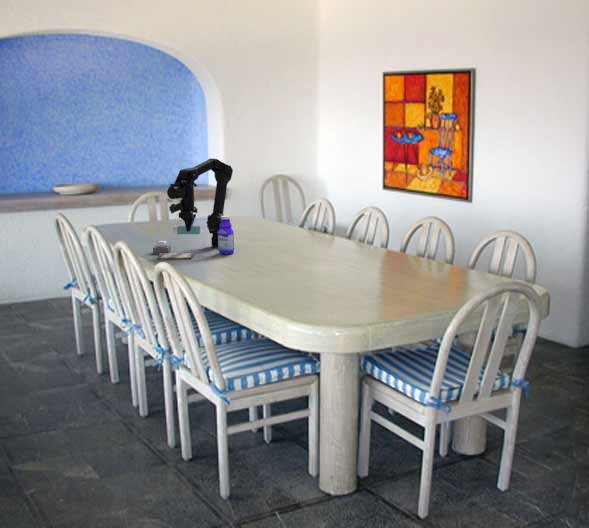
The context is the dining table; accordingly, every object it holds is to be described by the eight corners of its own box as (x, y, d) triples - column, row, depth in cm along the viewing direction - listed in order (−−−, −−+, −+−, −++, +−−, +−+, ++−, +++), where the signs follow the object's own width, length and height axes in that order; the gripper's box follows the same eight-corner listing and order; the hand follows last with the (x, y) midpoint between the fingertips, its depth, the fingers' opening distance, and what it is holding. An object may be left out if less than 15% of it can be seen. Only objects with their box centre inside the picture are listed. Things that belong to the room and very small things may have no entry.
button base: (170, 251, 361) (170, 245, 360) (168, 254, 354) (168, 247, 353) (156, 251, 361) (155, 245, 360) (153, 254, 354) (152, 247, 353)
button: (167, 247, 359) (166, 240, 358) (165, 248, 355) (165, 242, 354) (158, 247, 359) (158, 240, 358) (156, 248, 355) (156, 242, 354)
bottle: (216, 253, 354) (215, 216, 351) (223, 251, 359) (222, 214, 356) (229, 255, 351) (228, 217, 347) (236, 253, 356) (235, 215, 352)
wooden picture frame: (194, 254, 353) (194, 251, 353) (190, 259, 342) (190, 256, 342) (161, 254, 353) (161, 251, 353) (157, 259, 342) (156, 256, 342)
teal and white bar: (200, 233, 356) (200, 225, 355) (199, 234, 353) (199, 226, 352) (174, 233, 356) (174, 225, 355) (173, 234, 353) (172, 226, 352)
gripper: (173, 194, 360) (174, 227, 363) (166, 199, 342) (167, 234, 345) (197, 194, 360) (198, 227, 363) (191, 199, 342) (192, 234, 345)
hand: (188, 230), depth 354 cm, fingers closed on teal and white bar, 3 cm apart
